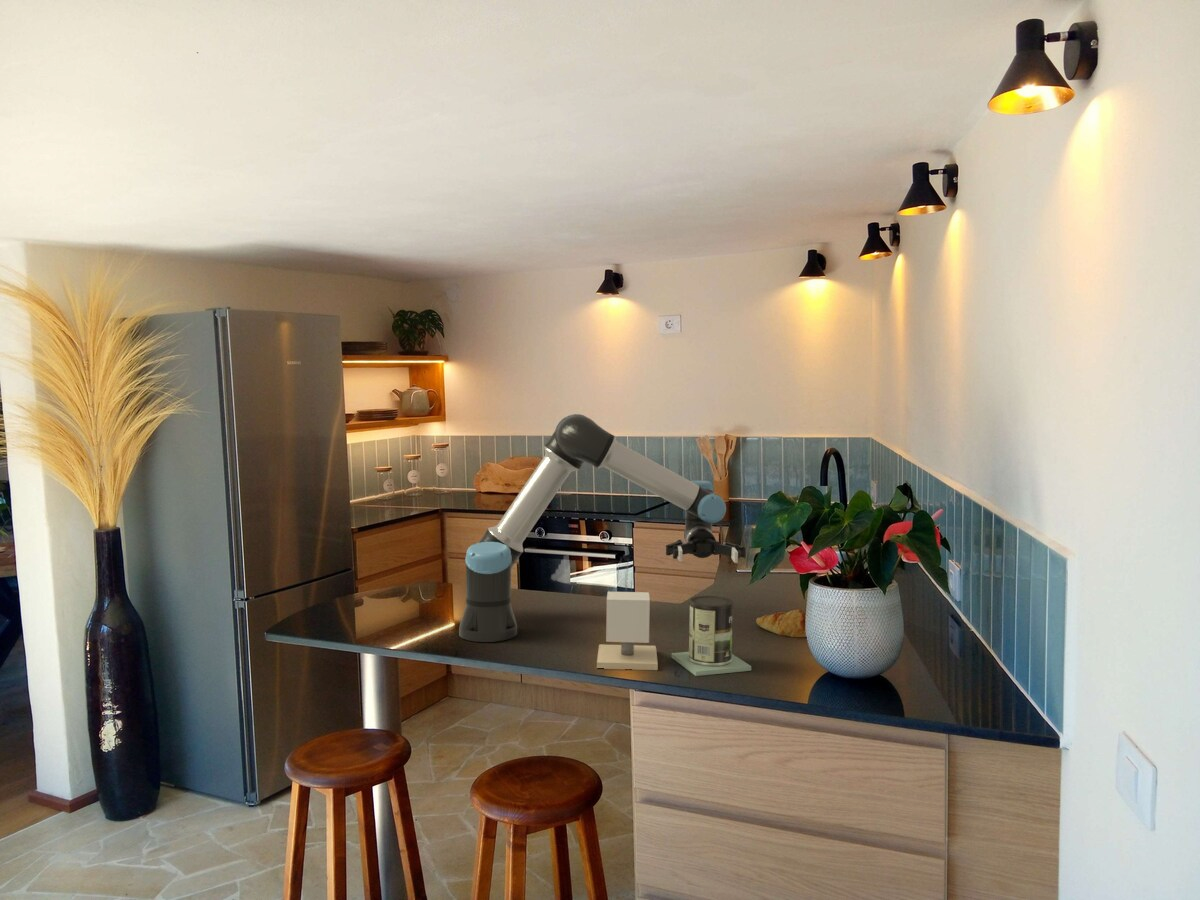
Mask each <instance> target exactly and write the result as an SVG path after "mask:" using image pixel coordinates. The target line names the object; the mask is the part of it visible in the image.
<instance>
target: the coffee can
mask: <svg viewBox="0 0 1200 900" xmlns="http://www.w3.org/2000/svg"><path fill="white" fill-rule="evenodd" d="M688 601H689V627H688V628H689V629H688V636H689V638H688V652H689V657H688V658H689V660H690V661H691V662H693V663H696V664H700V665H705V666H722V665H727V664H729V663H731V661H732V654H733V653H732V651H733V650H732V649H733V648H732V647H733V613H734V611H733V609H734V600H732V599H730V598H728V597H724V596H723V597H722V596H717V595H716V596H715V595H698V596H694V597H691V598H689V599H688Z"/></svg>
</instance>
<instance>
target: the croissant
mask: <svg viewBox="0 0 1200 900" xmlns="http://www.w3.org/2000/svg"><path fill="white" fill-rule="evenodd" d="M805 614H806V615H807V613H806V612H805V611H803V610H801V609H795V610H793V609H792V610H790V611H788V612H781V611H780V612H778V611H777V612H774V613H773V614H764V615H763V616H761V617H757V618H756V620H755V621H756V622H755V623H756V624H757V625H758V626H759V627H761V629H763V630H766V631H768V632H771V633H774V634H776V635H779V636H784V637H785V636H786V637H789V636H790V637H791V638H806V637H805Z"/></svg>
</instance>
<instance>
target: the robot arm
mask: <svg viewBox="0 0 1200 900" xmlns="http://www.w3.org/2000/svg"><path fill="white" fill-rule="evenodd" d="M543 448H544V456H543V457H542V459H541V460H540V462H539V463H538V464H537V466H536V468H535V469H534V470H533V472H532V473H531V475H530V477H529V478H528V479H527V481H526V483H524V485H523V486H522V488H521V489H520V491H519V493H518V494H517V496H516V497H515V498H514V500H513V502H512V503H511V504H510V506H509V507H508V509H507V510H506V511H505V513H504V515H503V516H502V517H501V519H500V520H499V522H498V523H497V524H496V525H494V526H490V527H488V528H487V530H486V531H485V532H484V534H483V535H482V537H481V539H480V540H479V541H478V542H476V543H474V544H471V545H470V546H469V547H468V548H467V550H466V554H465V561H464V562H465V608H464V611H463V614H462V617H461V620H460V623H459V626H458V627H459V628H458V635H459V637H460V638H461V639H463V640H466V641H469V642H476V643H495V642H502V641H507V640H511V639H513V638H515V637H516V636H517V635H518V624H517V620H516V617H515V614H514V611H513V607H512V603H511V600H512V597H511V596H512V594H511V593H512V588H511V587H512V582H511V581H512V569H513V567H514V565H516V563H517V561H518V560H519V557H520V556H522V554H523V553H524V547H523V543H524V541H525V540H526V538H527V537H528V535H529V534H530V533H531V531H532V530H533V528H534V526H535V525H536V524H537V522H538V521H539V519H540V518H541V517H542V515H543V513H544V512H545V511H546V509H547V508H548V506H549V504H550V503H551V501H552V500H553V499H554V497H555V496H556V494H557V493H558V491H559V490H560V488H561V487H562V486H563V484H564V483H565V481H566V480H567V478H568V477H569V475H570V473H572V472H576V471H580V469H581V468H582V466H583V465H584V463H586V464H589V465H591V466H593V467H595V468H597V469H601V468H605V469H607V470H609V471H610V472H612V473H615V474H616V475H618V476H620V477H622V478H624V479H626V480H628V481H630V482H631V483H633V484H634V485H637V486H639V487H641V488H642V489H644V490H647V491H649V492H650V493H652V494H654V495H656V496H658V497H659V498H662V499H664V500H666V501H667V502H669V503H670V504H673V505H674V506H676V507H679V508H681V509H683V510H685V521H684V525H685V527H684V530H683V534H684V535H683V538H684V540H685V542H684V540H682V539H677V540H676V541H674V542H672V543H668V544H666V545H665V556H671V555H672V558H673V559H674V560H677V559H678V561H679V562H683V555H688V554H689V555H693V556H694V557H696V558H699V559H707V558H709V557H710V556H712V555H714V556H719V555H722V556H727V557H731V560H732V561H733V563H734V564H738V563H739V560H738V559H740V558H746V552H747V550H746V547H745V546H742V545H739V544H736V543H731V542H730V541H728V540H725V541H724V542H723V543H721V542H720V541H718V540H717V539H716V538H715V536H714V534H713V524H716V523H718V522H720V521H722V519H724V517H725V515H726V512H727V504H726V503H725V501H724V499H723V498H722V497H721V496H719V495H718V494H716V493H714V490H713V489H714V487H713V483H712V482H711V481H709V480H690V479H687V478H686V477H684V476H682V475H680V474H678V473H677V472H674V471H672V470H671V469H668V468H667V467H665V466H664V465H661V464H659V463H657V462H656V461H654V460H652V459H650V458H649V457H646V456H644V455H643V454H641V453H639V452H638V451H635V450H634V449H631V448H630V447H628V446H626V445H625V444H623V443H620V442H618V440H617V437H616V435H614V434H612V433H610V432H608V431H607V430H605V429H603V428H602V427H601V426H600V425H599V424H598V423H596V422H595V421H594V420H593V419H592V418H590V417H587V416H586V415H584V414H580V413H573V414H570V415H567V416H564V418H562V419H561V420H560V421H559V422H558V423H557V425H556V427H555V430H554V432H553V433H552V435H551V436H550V438H549V439H548V440H547V442H546V443H545V444H544V447H543Z"/></svg>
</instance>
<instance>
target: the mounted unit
mask: <svg viewBox="0 0 1200 900" xmlns="http://www.w3.org/2000/svg"><path fill="white" fill-rule="evenodd" d="M650 600H651V599H650V592H649V591H648V592H647V591H646V592H644V591H642V592H641V591H607V595H606V620H605V621H606V624H605V625H606V627H605V628H606V629H605V633H606V635H605V639H606V640H605V642H606V643H608V642H609V643H620V644H601V643H600V644H599V645H598V652H597V658H596V669H597V668H604V669H603V670H625V669H632V671H633V670H634V671H658V669H659V668H658V667H659V666H658V665H659V664H658V654H657V653H658V652H657V647H656V646H657V645H643V644H644V643H645V644H649V643H650V615H651V614H650V612H651V611H650V606H651V605H650V603H651V602H650ZM635 643H643V644H642V645H641V644H639V645H637V644H635Z"/></svg>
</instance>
